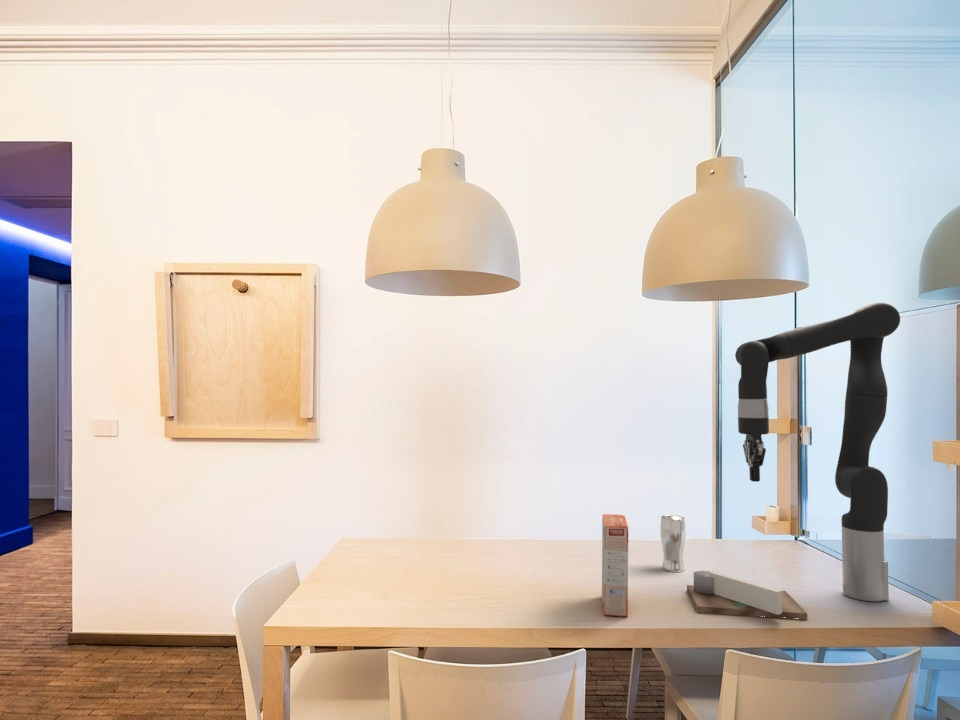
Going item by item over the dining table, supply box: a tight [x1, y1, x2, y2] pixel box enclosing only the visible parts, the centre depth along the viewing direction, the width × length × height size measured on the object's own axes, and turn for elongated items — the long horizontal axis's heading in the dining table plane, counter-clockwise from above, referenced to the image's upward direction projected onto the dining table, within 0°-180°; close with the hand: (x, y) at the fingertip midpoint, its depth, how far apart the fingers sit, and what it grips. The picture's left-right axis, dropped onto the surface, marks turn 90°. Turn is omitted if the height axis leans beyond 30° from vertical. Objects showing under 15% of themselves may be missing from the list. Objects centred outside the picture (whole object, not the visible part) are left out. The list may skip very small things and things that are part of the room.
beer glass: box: [659, 514, 686, 573], centre depth 182 cm, size 7×7×15 cm
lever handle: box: [693, 570, 783, 615], centre depth 150 cm, size 22×6×5 cm, turn 34°
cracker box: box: [601, 513, 629, 618], centre depth 151 cm, size 14×6×21 cm, turn 170°
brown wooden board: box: [686, 584, 808, 620], centre depth 152 cm, size 24×16×2 cm, turn 80°
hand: (754, 481), depth 166 cm, fingers closed
